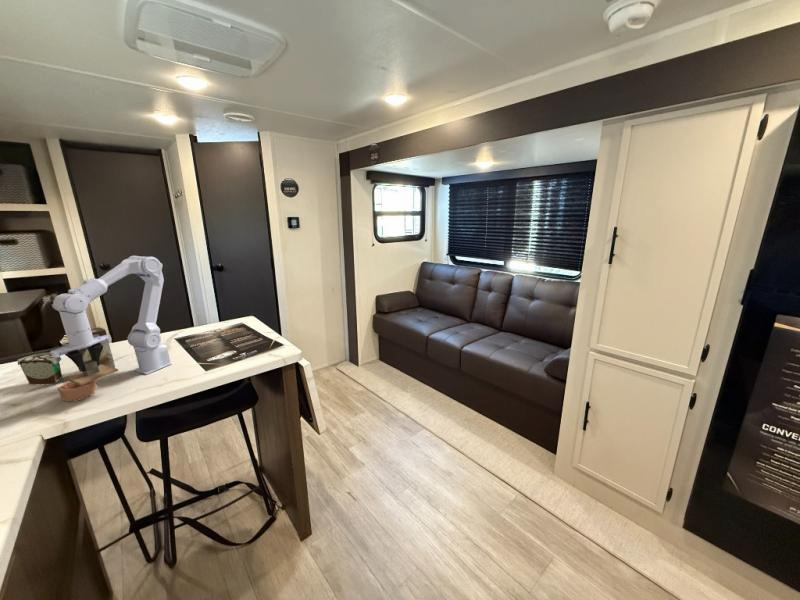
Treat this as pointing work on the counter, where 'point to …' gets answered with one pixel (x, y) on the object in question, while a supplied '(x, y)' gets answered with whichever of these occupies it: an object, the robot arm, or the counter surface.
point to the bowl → (76, 390)
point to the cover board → (92, 377)
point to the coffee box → (106, 353)
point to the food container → (41, 369)
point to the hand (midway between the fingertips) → (89, 368)
